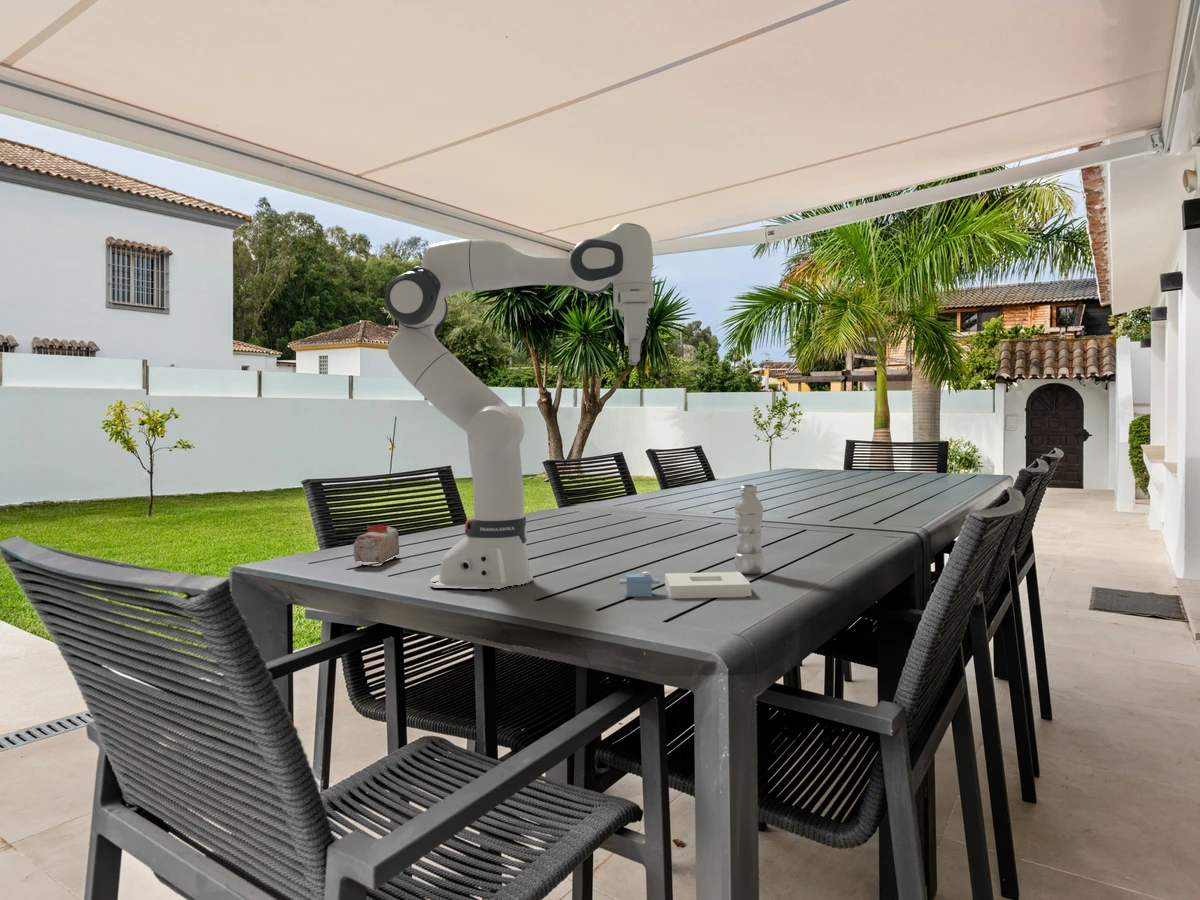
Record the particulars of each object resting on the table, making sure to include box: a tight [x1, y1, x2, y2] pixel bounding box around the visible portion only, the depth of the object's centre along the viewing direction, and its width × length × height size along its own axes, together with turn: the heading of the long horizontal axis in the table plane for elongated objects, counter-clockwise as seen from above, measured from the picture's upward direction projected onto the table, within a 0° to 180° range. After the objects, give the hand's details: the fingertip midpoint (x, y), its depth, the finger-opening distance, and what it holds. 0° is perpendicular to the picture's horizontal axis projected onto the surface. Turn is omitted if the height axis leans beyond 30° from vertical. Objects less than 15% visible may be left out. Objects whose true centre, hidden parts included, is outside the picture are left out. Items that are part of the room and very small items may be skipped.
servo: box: [618, 571, 660, 598], centre depth 153 cm, size 8×3×5 cm, turn 90°
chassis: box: [664, 571, 752, 599], centre depth 155 cm, size 16×12×2 cm
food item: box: [353, 523, 400, 563], centre depth 194 cm, size 14×8×10 cm, turn 174°
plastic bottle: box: [734, 484, 765, 575], centre depth 171 cm, size 6×7×20 cm
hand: (634, 363), depth 166 cm, fingers open, 8 cm apart
